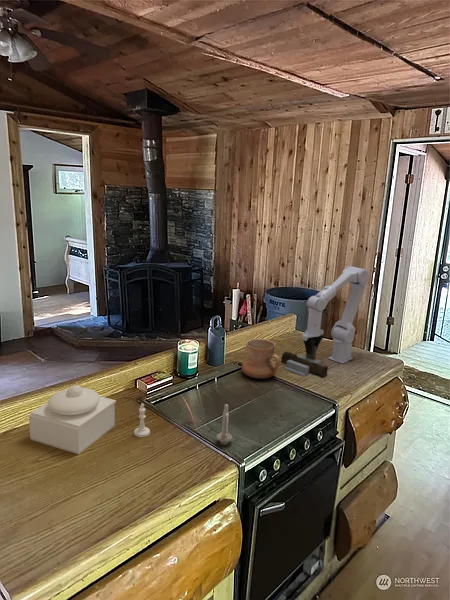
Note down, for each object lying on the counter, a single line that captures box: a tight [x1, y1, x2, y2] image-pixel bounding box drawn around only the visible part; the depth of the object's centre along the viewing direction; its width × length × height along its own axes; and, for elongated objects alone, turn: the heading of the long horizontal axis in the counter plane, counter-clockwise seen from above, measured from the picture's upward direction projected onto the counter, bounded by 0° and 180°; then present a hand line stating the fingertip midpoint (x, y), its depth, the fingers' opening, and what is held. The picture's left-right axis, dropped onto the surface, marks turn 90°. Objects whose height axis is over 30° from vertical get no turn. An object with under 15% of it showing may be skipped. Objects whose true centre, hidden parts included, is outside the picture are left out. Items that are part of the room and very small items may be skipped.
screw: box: [216, 403, 233, 446], centre depth 132 cm, size 13×5×5 cm
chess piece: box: [133, 403, 151, 438], centre depth 135 cm, size 5×5×10 cm
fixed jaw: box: [283, 360, 310, 377], centre depth 189 cm, size 4×10×4 cm, turn 47°
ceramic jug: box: [241, 338, 281, 380], centre depth 182 cm, size 18×14×14 cm
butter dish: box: [28, 384, 117, 455], centre depth 133 cm, size 18×18×16 cm
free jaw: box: [297, 346, 322, 365], centre depth 195 cm, size 4×10×10 cm, turn 47°
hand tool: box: [280, 351, 329, 378], centre depth 193 cm, size 23×5×6 cm, turn 45°
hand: (311, 352), depth 196 cm, fingers open, 4 cm apart
